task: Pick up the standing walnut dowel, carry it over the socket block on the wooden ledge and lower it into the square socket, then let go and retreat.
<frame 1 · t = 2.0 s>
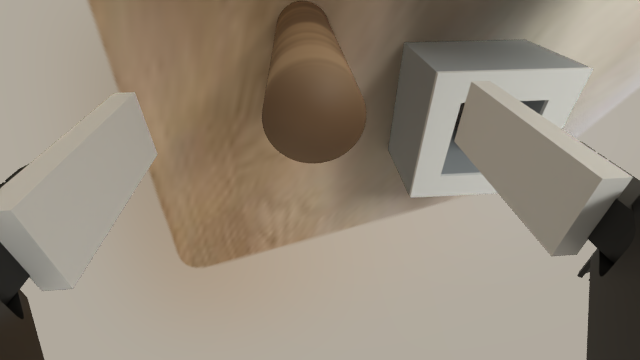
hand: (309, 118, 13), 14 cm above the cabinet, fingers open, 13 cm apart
walnut dowel: (303, 30, 24), on the cabinet
socket block: (449, 100, 28), on the cabinet
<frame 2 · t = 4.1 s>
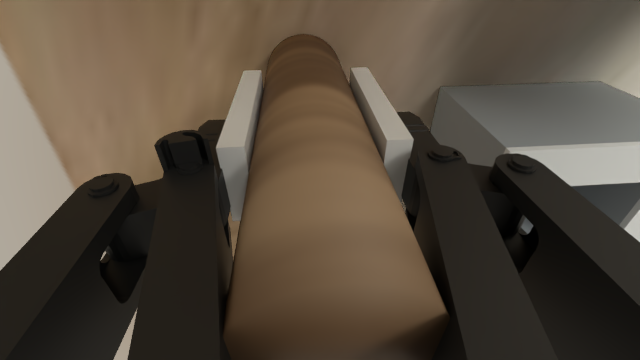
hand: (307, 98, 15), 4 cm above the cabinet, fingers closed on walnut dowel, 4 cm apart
walnut dowel: (304, 73, 17), on the cabinet, touching gripper
socket block: (494, 155, 22), on the cabinet
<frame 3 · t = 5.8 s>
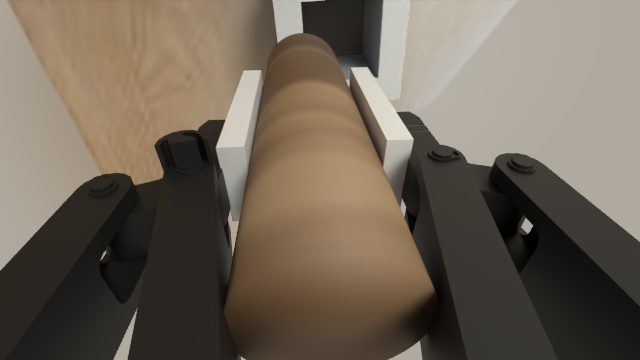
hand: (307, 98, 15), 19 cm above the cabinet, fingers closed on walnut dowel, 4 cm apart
walnut dowel: (303, 71, 18), point 15 cm above the cabinet, touching gripper
socket block: (332, 23, 30), on the cabinet
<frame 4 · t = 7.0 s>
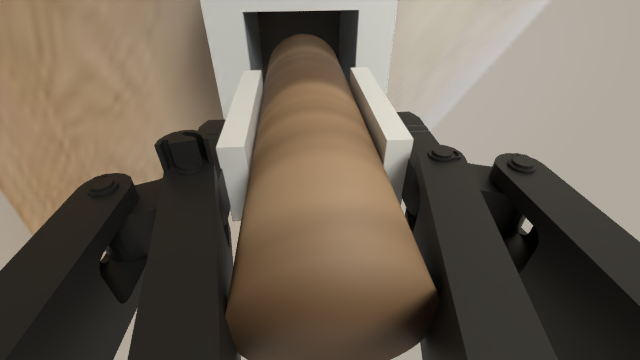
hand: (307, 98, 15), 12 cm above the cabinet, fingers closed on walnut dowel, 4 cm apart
walnut dowel: (303, 71, 18), point 7 cm above the cabinet, touching gripper
socket block: (299, 39, 24), on the cabinet
when the fingers open (9 cm above the cabinet, at t = 7.9 s): walnut dowel drops 4 cm, resting in socket block.
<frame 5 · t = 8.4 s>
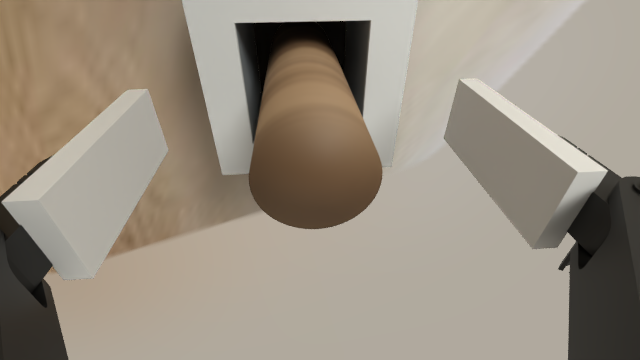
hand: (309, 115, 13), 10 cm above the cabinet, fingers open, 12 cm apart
walnut dowel: (300, 50, 21), resting in socket block
socket block: (301, 49, 21), on the cabinet
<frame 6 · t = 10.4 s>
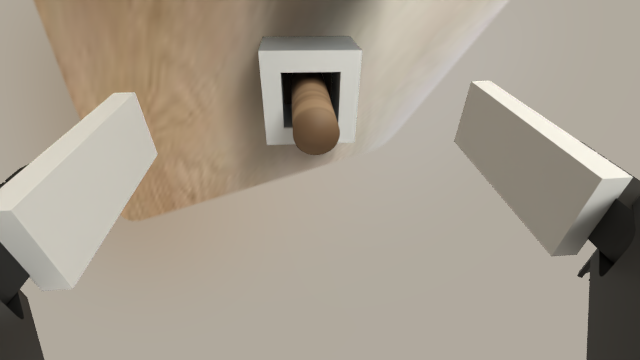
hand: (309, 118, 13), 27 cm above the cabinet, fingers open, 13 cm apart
walnut dowel: (307, 80, 39), resting in socket block
socket block: (307, 80, 39), on the cabinet
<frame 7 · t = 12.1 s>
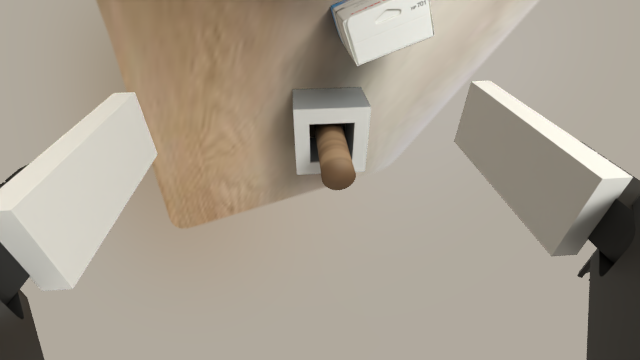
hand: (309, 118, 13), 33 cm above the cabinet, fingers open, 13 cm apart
ink box: (366, 10, 40), on the cabinet
walnut dowel: (326, 120, 49), resting in socket block
socket block: (326, 119, 49), on the cabinet
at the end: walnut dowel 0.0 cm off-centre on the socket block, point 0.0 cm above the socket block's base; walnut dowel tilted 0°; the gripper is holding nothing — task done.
